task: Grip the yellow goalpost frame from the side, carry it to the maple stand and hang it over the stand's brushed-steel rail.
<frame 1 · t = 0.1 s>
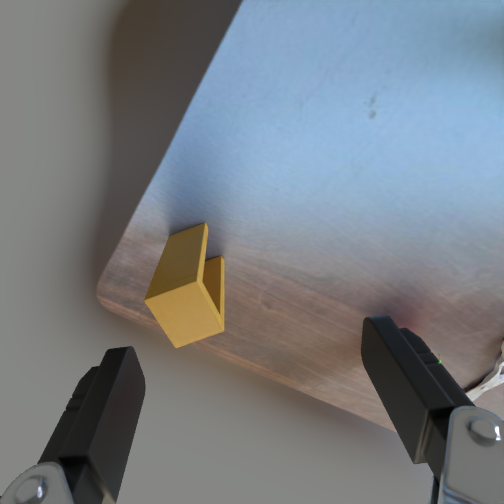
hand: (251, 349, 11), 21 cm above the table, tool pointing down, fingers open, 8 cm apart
yellow goalpost frame: (197, 249, 32), on the table
scissors: (483, 379, 45), on the table
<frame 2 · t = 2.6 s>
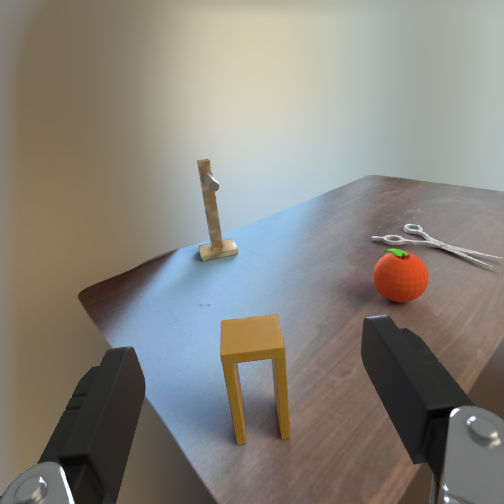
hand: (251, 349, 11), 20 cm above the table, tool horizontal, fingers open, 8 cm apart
clementine: (394, 296, 45), on the table
rack: (223, 262, 59), on the table
yellow goalpost frame: (261, 421, 30), on the table
scissors: (437, 248, 56), on the table
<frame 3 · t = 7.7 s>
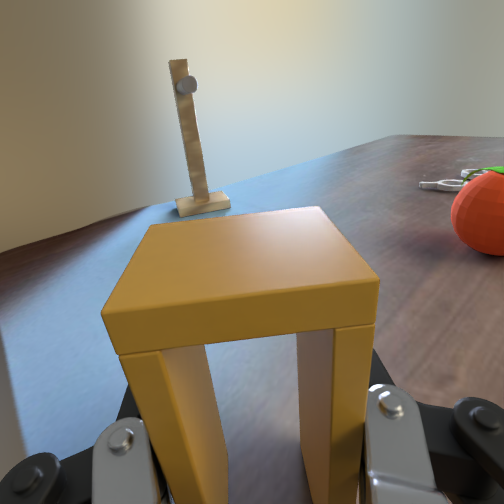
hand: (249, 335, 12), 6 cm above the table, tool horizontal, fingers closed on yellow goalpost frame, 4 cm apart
clementine: (484, 250, 27), on the table
rack: (208, 217, 41), on the table
yellow goalpost frame: (270, 502, 12), on the table, touching gripper
when the fingers open (12 cm above the table, at t = 19.4 s): yellow goalpost frame stays where it is, resting on rack.
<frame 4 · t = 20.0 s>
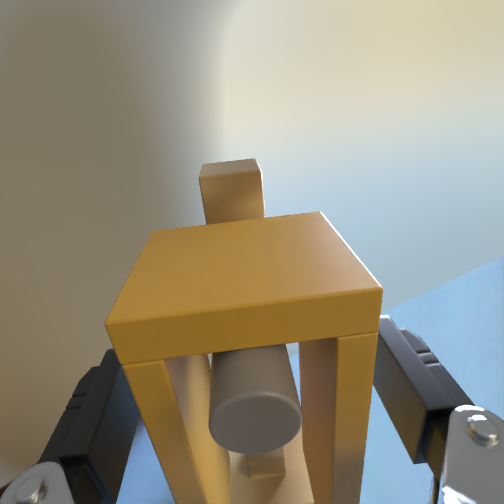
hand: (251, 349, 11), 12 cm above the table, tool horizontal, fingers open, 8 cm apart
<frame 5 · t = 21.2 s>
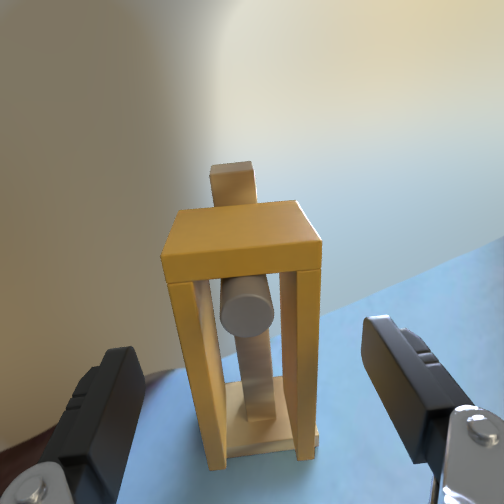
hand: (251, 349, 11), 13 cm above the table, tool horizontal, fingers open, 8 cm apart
rack: (269, 487, 19), on the table
yellow goalpost frame: (258, 424, 16), point 6 cm above the table, touching rack
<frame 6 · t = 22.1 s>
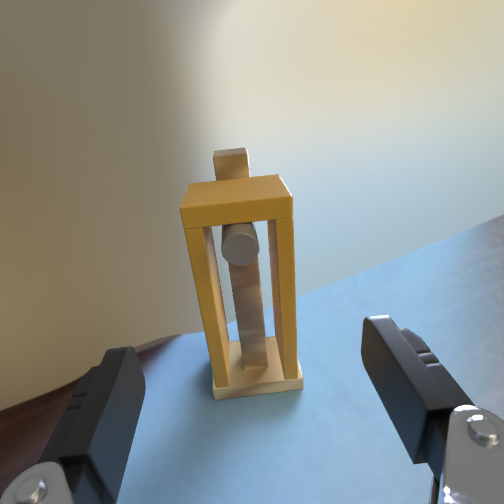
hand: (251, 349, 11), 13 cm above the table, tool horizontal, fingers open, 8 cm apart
rack: (261, 418, 23), on the table
yellow goalpost frame: (254, 358, 20), point 6 cm above the table, touching rack
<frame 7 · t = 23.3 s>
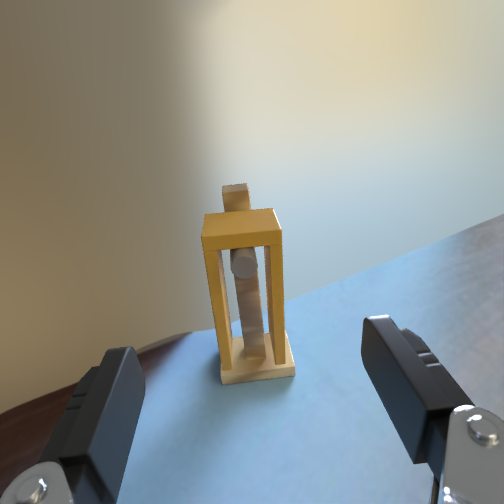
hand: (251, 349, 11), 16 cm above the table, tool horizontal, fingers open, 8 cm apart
rack: (261, 398, 28), on the table
yellow goalpost frame: (252, 348, 25), point 6 cm above the table, touching rack
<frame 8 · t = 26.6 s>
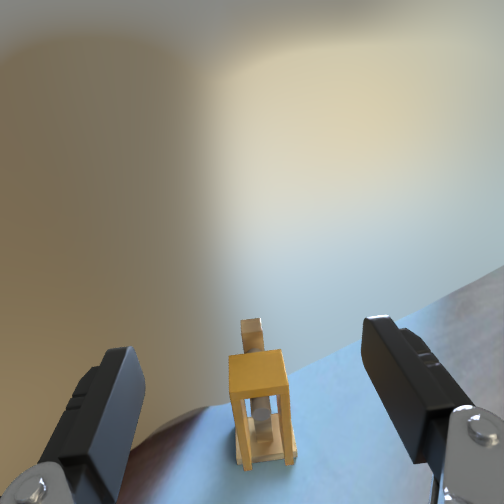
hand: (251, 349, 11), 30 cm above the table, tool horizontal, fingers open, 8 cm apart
rack: (269, 480, 35), on the table
yellow goalpost frame: (266, 447, 32), point 6 cm above the table, touching rack
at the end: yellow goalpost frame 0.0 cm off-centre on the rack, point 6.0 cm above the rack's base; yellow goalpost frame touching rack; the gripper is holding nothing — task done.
